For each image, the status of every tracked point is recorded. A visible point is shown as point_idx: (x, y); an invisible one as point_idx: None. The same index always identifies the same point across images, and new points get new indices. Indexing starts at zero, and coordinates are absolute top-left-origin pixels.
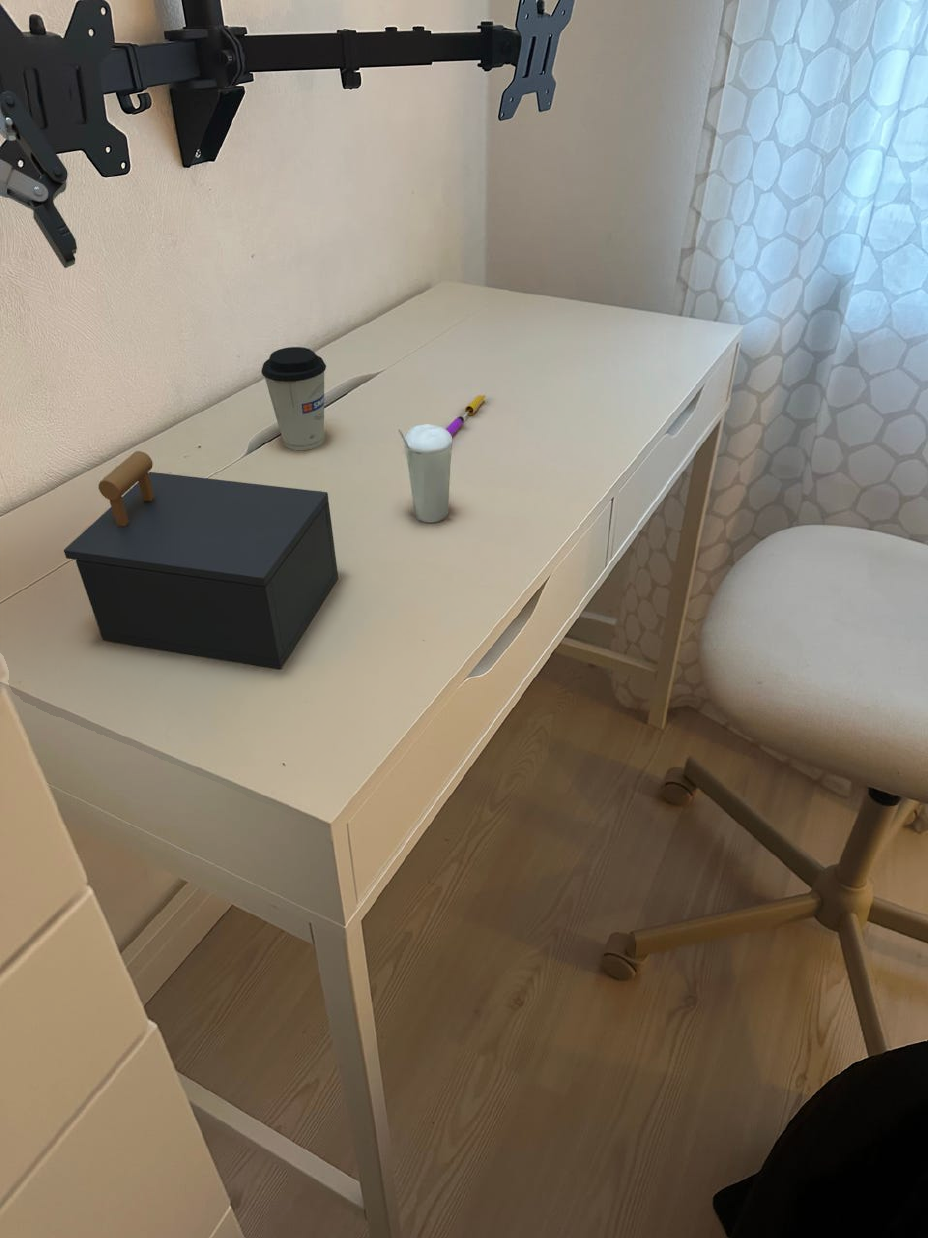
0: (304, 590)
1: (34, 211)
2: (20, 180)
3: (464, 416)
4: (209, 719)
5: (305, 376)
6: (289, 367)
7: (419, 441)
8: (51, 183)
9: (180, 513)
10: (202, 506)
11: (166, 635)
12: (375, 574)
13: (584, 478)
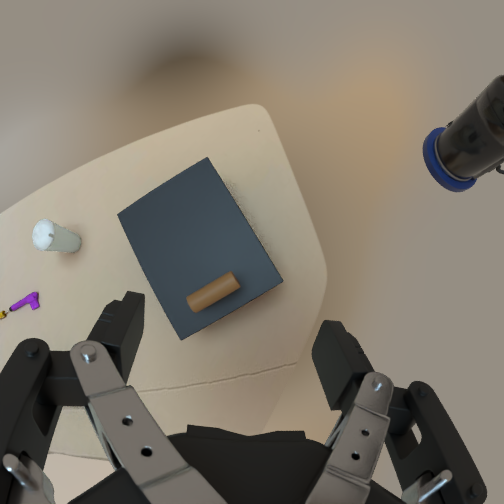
0: None
1: (121, 352)
2: (97, 382)
3: (8, 310)
4: (267, 176)
5: None
6: None
7: (48, 229)
8: (56, 361)
9: (197, 264)
10: (181, 261)
11: None
12: None
13: (19, 212)
